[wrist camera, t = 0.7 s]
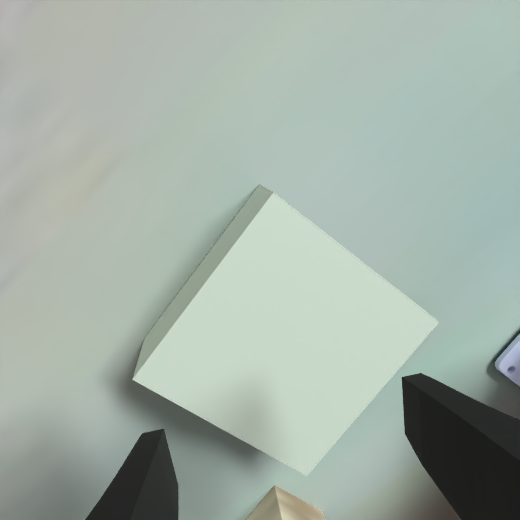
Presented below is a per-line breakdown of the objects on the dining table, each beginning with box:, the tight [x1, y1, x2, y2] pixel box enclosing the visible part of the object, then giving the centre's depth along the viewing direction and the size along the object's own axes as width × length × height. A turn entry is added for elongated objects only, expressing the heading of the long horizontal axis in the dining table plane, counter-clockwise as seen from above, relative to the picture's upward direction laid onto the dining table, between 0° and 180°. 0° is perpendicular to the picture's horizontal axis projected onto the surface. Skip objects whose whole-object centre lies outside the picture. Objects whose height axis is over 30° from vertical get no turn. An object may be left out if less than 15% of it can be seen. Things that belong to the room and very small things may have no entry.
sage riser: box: [132, 184, 439, 476], centre depth 20 cm, size 10×10×4 cm
